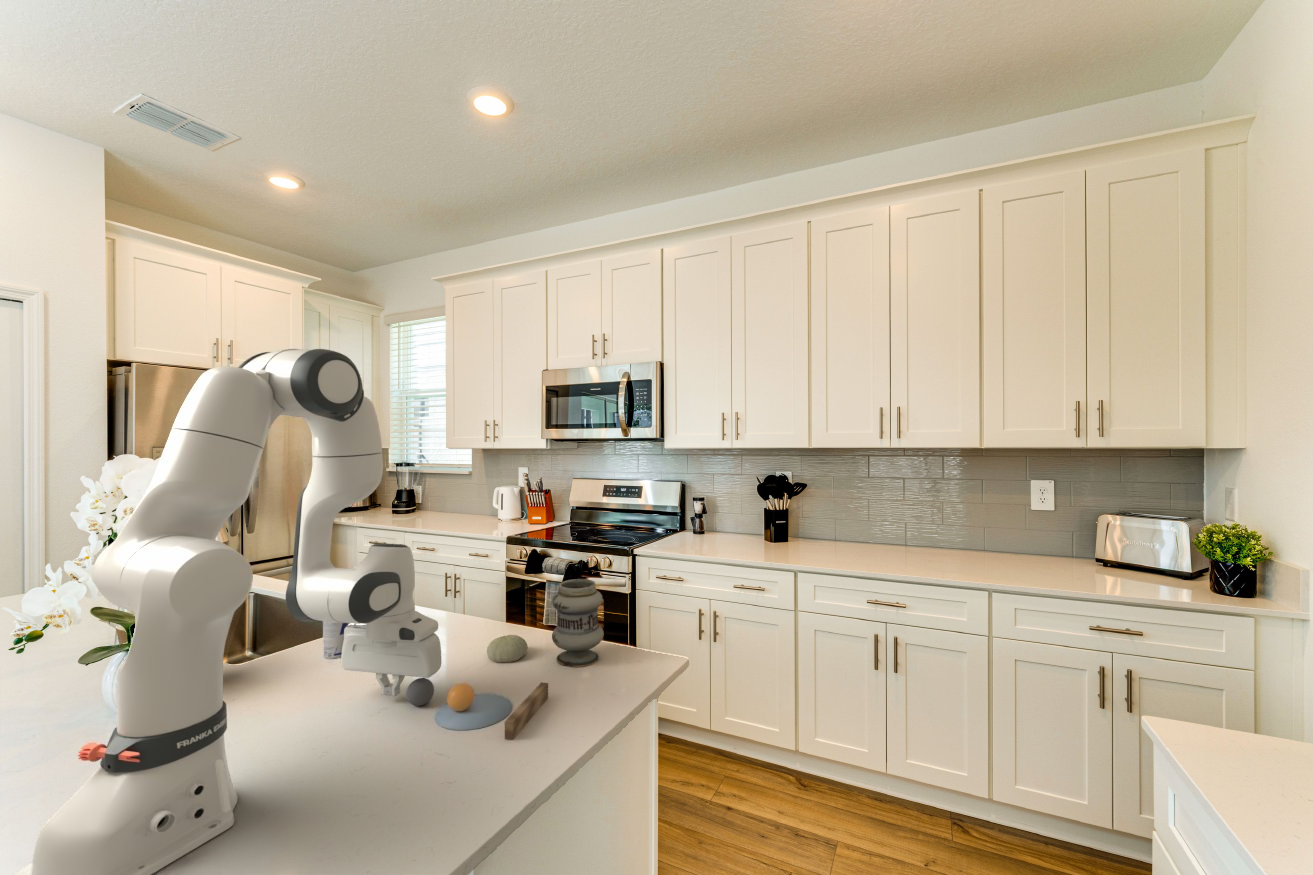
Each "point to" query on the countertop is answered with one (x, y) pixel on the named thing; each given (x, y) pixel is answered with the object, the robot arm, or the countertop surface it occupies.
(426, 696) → the gray ball
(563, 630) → the apothecary jar
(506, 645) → the sea urchin shell
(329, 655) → the energy drink
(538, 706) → the wall
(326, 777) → the countertop surface
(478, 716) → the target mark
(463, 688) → the object ball
